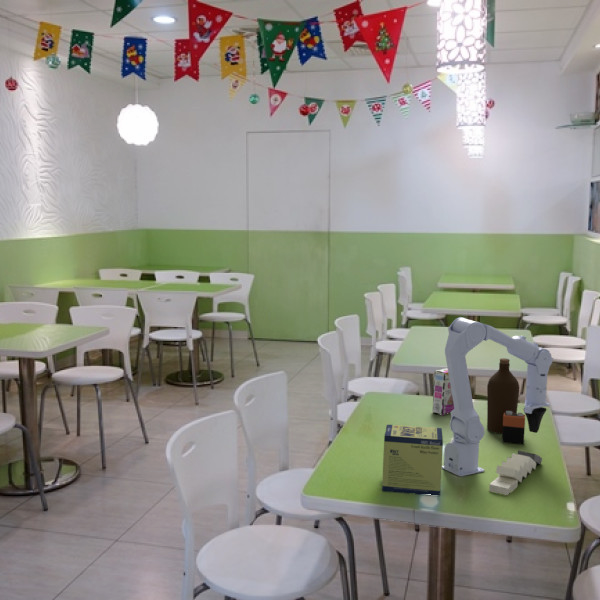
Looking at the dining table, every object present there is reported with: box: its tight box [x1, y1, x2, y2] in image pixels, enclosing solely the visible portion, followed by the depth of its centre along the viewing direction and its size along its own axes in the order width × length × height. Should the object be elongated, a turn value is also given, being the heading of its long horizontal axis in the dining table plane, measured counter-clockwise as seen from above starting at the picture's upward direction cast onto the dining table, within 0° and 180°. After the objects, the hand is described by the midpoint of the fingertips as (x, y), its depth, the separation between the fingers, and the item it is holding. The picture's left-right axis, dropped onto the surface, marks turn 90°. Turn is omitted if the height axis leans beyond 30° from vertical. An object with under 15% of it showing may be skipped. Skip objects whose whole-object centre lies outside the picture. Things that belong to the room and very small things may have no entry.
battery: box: [501, 411, 526, 445], centre depth 226 cm, size 4×7×10 cm, turn 72°
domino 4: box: [505, 456, 533, 475], centre depth 196 cm, size 2×5×8 cm
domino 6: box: [516, 450, 543, 465], centre depth 204 cm, size 2×5×8 cm
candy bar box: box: [432, 368, 454, 416], centre depth 259 cm, size 11×5×16 cm, turn 133°
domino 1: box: [495, 464, 523, 483], centre depth 190 cm, size 2×5×8 cm
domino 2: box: [488, 475, 519, 496], centre depth 186 cm, size 2×5×8 cm
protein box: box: [381, 424, 444, 496], centre depth 186 cm, size 10×16×16 cm
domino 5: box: [510, 452, 537, 471], centre depth 200 cm, size 2×5×8 cm
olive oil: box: [486, 358, 520, 435], centre depth 237 cm, size 11×11×25 cm
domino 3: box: [500, 460, 528, 479], centre depth 193 cm, size 2×5×8 cm
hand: (533, 431), depth 205 cm, fingers closed
